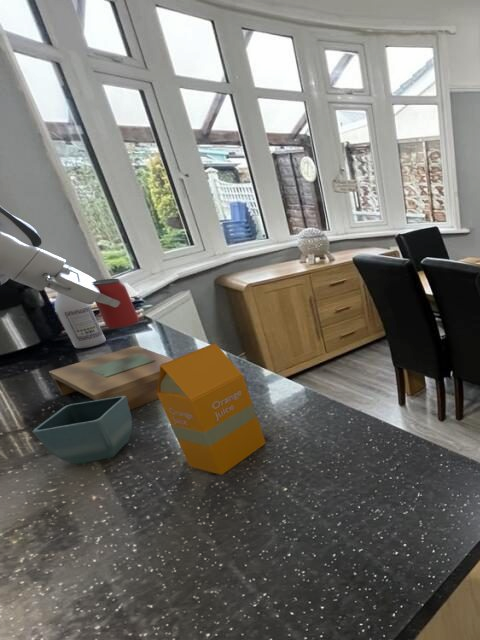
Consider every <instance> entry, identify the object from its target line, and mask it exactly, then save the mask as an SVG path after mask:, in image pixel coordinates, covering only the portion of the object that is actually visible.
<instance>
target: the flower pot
mask: <svg viewBox="0 0 480 640" xmlns="http://www.w3.org/2000/svg"><path fill="white" fill-rule="evenodd" d="M132 430H133V418H132V414H131V410H129V406H128V402H127V399H126V396H120V397H113V398H108V399H101V400H95V401H94V400H89V401H83V402H77V403H70V404H67V405H65V406H63V407H62V408H61V409H59V410H58V411H56V412H55V413H54V414H53V415H51V416H50V417H48V418H47V419H46V420H45V421H43V422H42V423H41V424H40V425H38V426H37V427H35V428H34V429H32V431H31V433H32V434H33V435H34V436H35V437H36V438H37V439H38V440H39V441H40V443H41V444H42V445H43V446H44V447H45V448H46V449H47V450H48V451H49V453H51V454H52V455H54V456H55V457H57V458H59V459H60V460H61V461H64V462H68V463H70V464H74V465H80V464H85V463H91V462H95V461H101V460H106V459H112V458H114V457H116V455H117V454H118V453H119V452H120V451H121V450H122V448H123V447H125V445H126V444H128V443H129V441H130V439H131V438H130V437H131V434H132Z"/></svg>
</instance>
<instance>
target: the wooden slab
mask: <svg viewBox="0 0 480 640" xmlns="http://www.w3.org/2000/svg"><path fill="white" fill-rule="evenodd" d="M174 359H175V358H172V357H170V356H166V355H164V354H161V353H158V352H155V351H152V350H149V349H147V348H144V347H141V346H138V345H133V346H129V347H126V348H123V349H119V350H116V351H113V352H109V353H106V354H102V355H98V356H96V357H93V358H89V359H86V360H83V361H79V362H76V363H73V364H69V365H66V366H65V365H64V366H62V367H59V368H56V369H53V370H49V371H48V373H49V375H50V376H51V378H52V380H53V382H54V383H55V386H56V387H57V389H58V391H59V393H60V395H62V396H67V395H69V394H73V393H76V392H79V393H81V394H82V395H84V396H86V397H88V398H90V399H91V400H93V401H95V400H101V399H108V398H113V397H120V396H126V399H127V402H128V406H129V410H130V411H132V410H135V409H137V408H139V407H142V406H145V405H148V404H149V403H152V402H154V401H157V400H160V399H159V397H158V395H157V390H158V382H159V373H160V365H161V364H164V363H166V362H169V361H171V360H174Z"/></svg>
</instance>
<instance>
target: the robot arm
mask: <svg viewBox="0 0 480 640" xmlns="http://www.w3.org/2000/svg"><path fill="white" fill-rule="evenodd" d="M41 245H42V239H41V236H40V234H39V232H38V231H37V229H36V228H35V227H34V226H32V225H31V224H30V223H28V222H26V221H25V220H23V219H21V218H19V217H17V216H15V215H14V214H11V213H10V212H9V211H8V210H6V209H4V208H3V206H0V287H1V286H2V285H3V284H5V283H6V282H8V281H9V279H10V280H12V281H13V282H16V283H19V284H22V285H23V286H27V287H29V288H32V289H35V290H36V291H40V292H41V291H43V290H45V289H46V288H48V289H50V290H52V291H55V292H57V293H58V292H59V293H61V294H64V295H66V296H68V297H71V298H73V299H75V300H78V301H80V302H83V303H86V304H89V305H90V306H91V305H93V304H94V303H96V302H99V303H103V304H107V305H110V306H112V307H118V306H119V304H120V301H119V300H116V299H114V298H111V297H108V296H106V295H104V294H102V293H100V291H99V288H98V287H97V286H95V285H93V284H94V283H92V282H94V281H97V279H96V278H94V277H92V276H90V275H88V274H87V273H85V272H82V271H81V270H79V269H77V268H75V267H73V266H71V265H69V264H66V263H67V259H64V258H62V257H61V256H58V255H55V254H54V253H51V252H50V251H47V250H44V249H42V248H40V246H41ZM95 301H96V302H95Z"/></svg>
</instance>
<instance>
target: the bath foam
mask: <svg viewBox="0 0 480 640" xmlns="http://www.w3.org/2000/svg"><path fill="white" fill-rule="evenodd" d="M54 310H55V312H56V313H55V314H56V316H57V317H58V319H59V320H60V323H61V324H62V327H63V328H64V329H65V332H66V334H67V336H68V338H69V340H70V342H71V343H72V345H73V347H74V348H75V349H88V348H93V347H97V346H100V345H102V344H104V343H105V342H106V341H107V339H106V337H105V334H104V332H103V330H102V328H101V325H100V323H99V321H98V319H97V318H96V316H95V313H94V311H93V308H92V307H91V305H90V304H86V303H83V302H80V301H78V300H75V299H73V298H71V297H68V296H66V295H64V294H61V293H59V292H57V295H56V297H55V300H54Z"/></svg>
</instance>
